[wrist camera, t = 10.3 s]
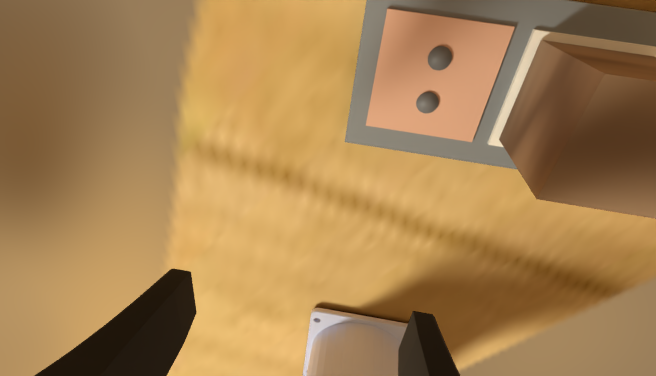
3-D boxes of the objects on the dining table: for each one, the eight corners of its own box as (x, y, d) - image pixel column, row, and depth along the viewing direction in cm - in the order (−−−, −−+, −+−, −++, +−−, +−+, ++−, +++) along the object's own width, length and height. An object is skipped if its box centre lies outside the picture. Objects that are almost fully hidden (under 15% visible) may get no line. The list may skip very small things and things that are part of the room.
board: (595, 176, 18) (604, 185, 18) (345, 137, 19) (344, 144, 18) (694, 17, 14) (712, 20, 13) (371, -28, 15) (370, -27, 14)
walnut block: (594, 154, 17) (664, 220, 13) (498, 139, 17) (536, 198, 13) (654, 56, 14) (765, 97, 10) (541, 39, 15) (604, 73, 10)
